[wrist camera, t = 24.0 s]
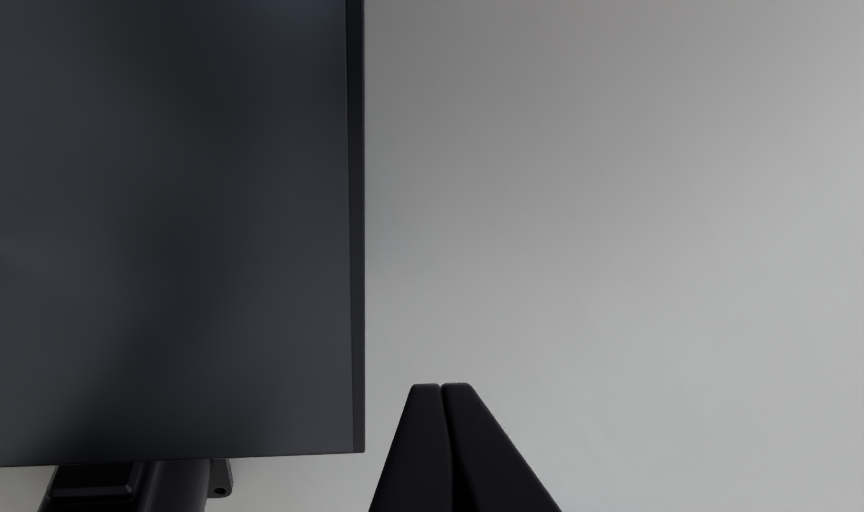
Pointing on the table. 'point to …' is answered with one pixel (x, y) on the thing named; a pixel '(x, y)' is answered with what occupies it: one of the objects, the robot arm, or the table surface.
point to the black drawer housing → (181, 230)
